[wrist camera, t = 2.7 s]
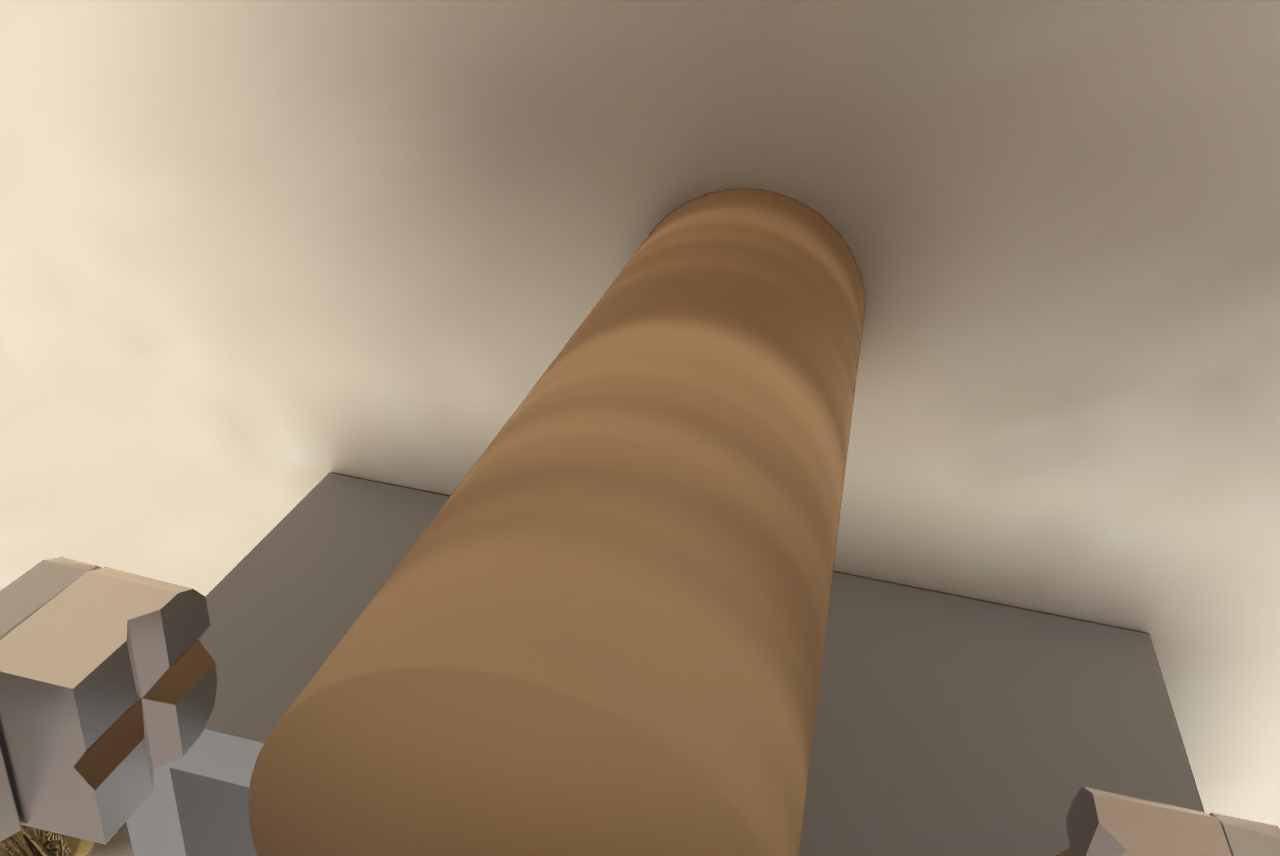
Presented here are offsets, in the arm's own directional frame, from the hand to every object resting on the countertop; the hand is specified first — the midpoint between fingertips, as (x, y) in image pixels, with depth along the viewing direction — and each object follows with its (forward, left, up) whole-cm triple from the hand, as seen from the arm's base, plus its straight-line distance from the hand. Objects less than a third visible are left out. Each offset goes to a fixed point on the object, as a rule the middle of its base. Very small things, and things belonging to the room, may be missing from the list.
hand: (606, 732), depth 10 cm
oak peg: (-1, 0, -10) cm, 10 cm away
